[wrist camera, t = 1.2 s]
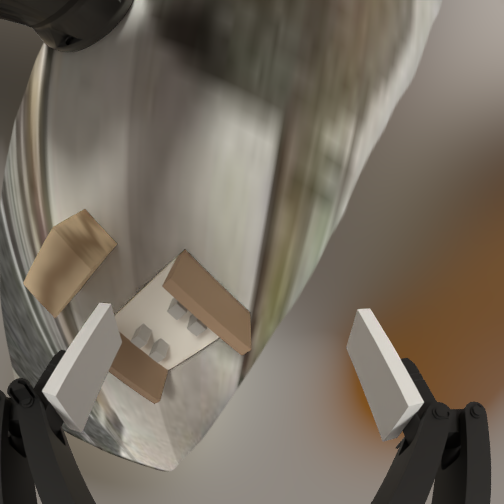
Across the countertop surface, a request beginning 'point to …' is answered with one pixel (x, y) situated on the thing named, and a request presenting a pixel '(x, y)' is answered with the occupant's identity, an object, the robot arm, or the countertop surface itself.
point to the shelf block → (67, 260)
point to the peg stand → (175, 325)
